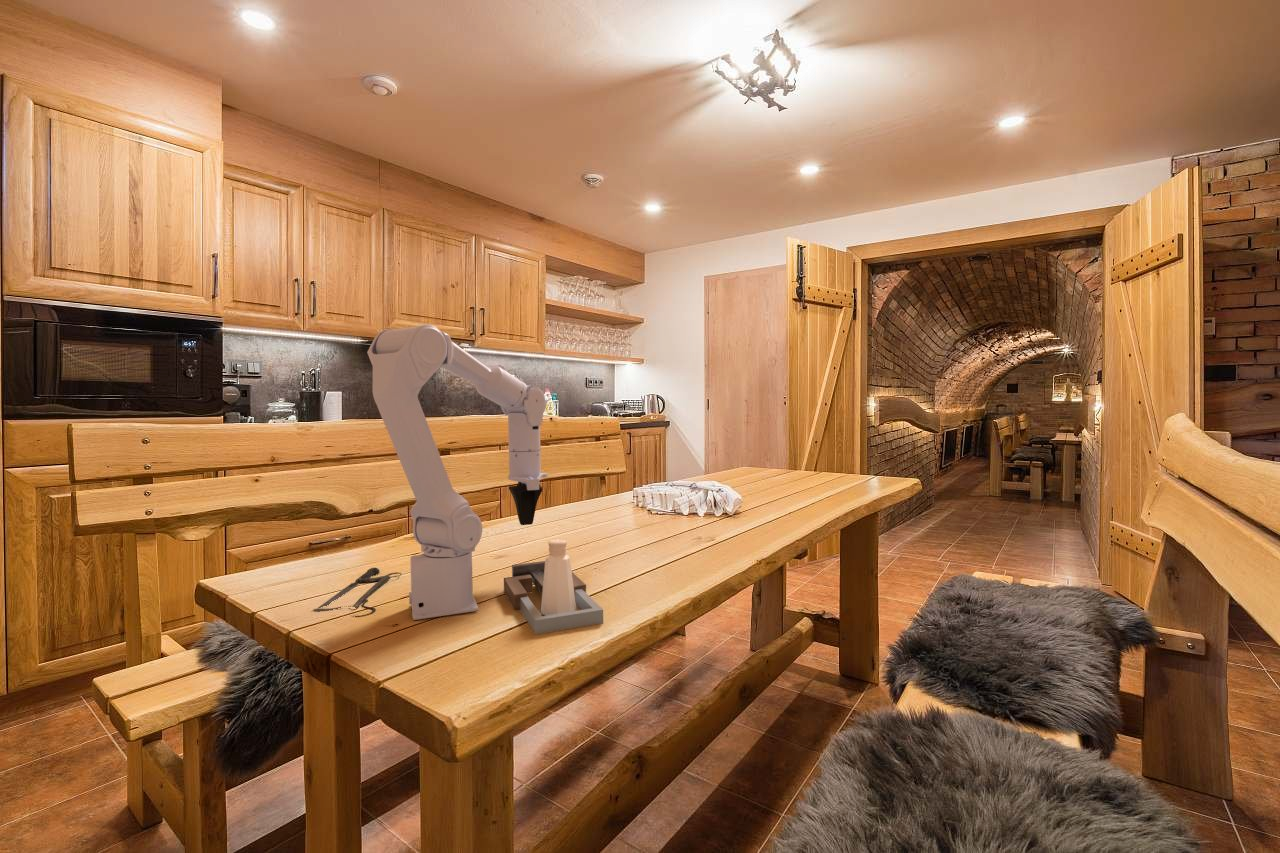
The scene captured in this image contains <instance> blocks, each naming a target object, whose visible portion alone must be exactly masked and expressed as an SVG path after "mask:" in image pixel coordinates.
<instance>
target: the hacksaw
mask: <svg viewBox="0 0 1280 853" xmlns="http://www.w3.org/2000/svg"><path fill="white" fill-rule="evenodd" d="M376 574H377V575H378V574H380V569H379V568H378V567H371V568H369V569H367V570H366V572H364V573H362V575H360V576H359V577H358V578H356V580H355V582H351V583H349V585H347V586H345V587H344V588H343V589H341V590H340V591H339V592H337V593H336V594H335V595H333V596H332V597H330V598H329V599H327V601H325V602H323V603H322V604H320V605H319V606H318V607H317V608H314V609H312V610H311V611H310V612H314V613H316V612H319V613H320V612H328V611H329V610H330V611H334V610H333V609H337V610H339V609H338V608H341V607H342V606H337V607H332V608H331V607H329V608H324V607H323V606H326V607H328V606H330V605H331V604H332V603H331V602H332V601H334V600H336V599H337V600H338V598H339V597H340V598H342V597H343V596H344V595H346V594H347V593H348V592H350V591H351V590H353V589H354V588H355V587H356V586H359V584H362V583H369V582H376V583H374V585H372V587H371V588H369V589H368V590H367V591H366V592H365V593H363V595H361V596H360V597H359V598H358V600H357V601H356V602H355V603H354V604H353V605H350V606H349V605H348V607H351V606H352V607H355V608H356V610H358V609H359V607H360V605H361V606H362V608H363V607H364V608H363V609H367V610H372V611H371V612H369V613H366V614H362V615H354V616H355V617H354V618H361V617H366V616H370V615H372V614H374V613H376V611H377V609H376V608H375V607H370V606H366V605H365V604H366V603H368V602H369V600H368V599H369V597H371V595H373V594H374V593H376V591H377V590H379V589H380V588H381V587H382V586H383V585H384V584H385V583H387V582H388V581H389V580H390V579H391V575H397V576H395V577H393V579H396V578H398V577H401V576H402V573H401V572H397V571H396V572H391V573H387V574H385V575H381V576H377V575H376ZM398 574H400V575H398ZM373 575H374V576H377V577H373ZM371 576H372V577H371ZM346 592H347V593H346ZM345 593H346V594H345ZM343 594H344V595H343ZM342 595H343V596H342ZM340 598H339V599H340ZM337 600H336V601H337ZM334 602H335V601H334ZM330 603H331V604H330ZM329 604H330V605H329ZM327 605H328V606H327ZM345 606H346V605H345ZM321 607H322V608H321ZM346 607H347V606H346ZM330 611H329V612H330Z"/></svg>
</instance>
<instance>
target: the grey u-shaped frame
mask: <svg viewBox="0 0 1280 853" xmlns="http://www.w3.org/2000/svg"><path fill="white" fill-rule="evenodd" d="M587 593H588V592H587V591H586V592H584V591H583V590H582V589H577V590H575V603H576V606H578V608H580V610H579V609H577V610H576V611H572V612H565V613H559V614H552V615H546V616H545V615H542V614H541V613H540V612H539V610H538V609H537V607H536V606H535V605H534V603H533V602H532V601H531V599H530V597H529V596H527V597H521V598H520V610H519V611H520V612H521V614H522V616H523V617H524V618H525V621H526V622H527V624H528V625H529V627H530V628H531V630H532V632H533V633H534V635H540V634H546V633H553V632H559V631H560V632H561V631H564V630H565V631H566V630H571V629H576V628H578V629H579V628H583V627H587V626H589V627H590V626H594V625H600V624H604V609H603V608H602V607H601V606H600V605H599V604H598V603H597V601H595V600H594V599H593V598H592V597H591V596H590V595H589V594H587Z"/></svg>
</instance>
